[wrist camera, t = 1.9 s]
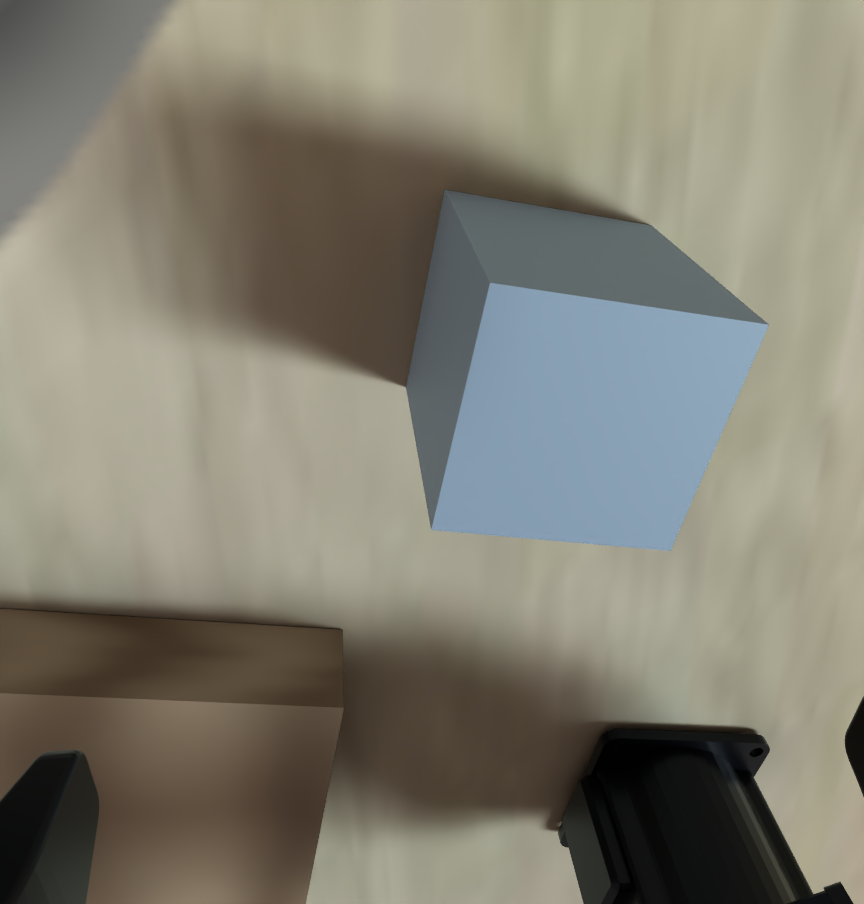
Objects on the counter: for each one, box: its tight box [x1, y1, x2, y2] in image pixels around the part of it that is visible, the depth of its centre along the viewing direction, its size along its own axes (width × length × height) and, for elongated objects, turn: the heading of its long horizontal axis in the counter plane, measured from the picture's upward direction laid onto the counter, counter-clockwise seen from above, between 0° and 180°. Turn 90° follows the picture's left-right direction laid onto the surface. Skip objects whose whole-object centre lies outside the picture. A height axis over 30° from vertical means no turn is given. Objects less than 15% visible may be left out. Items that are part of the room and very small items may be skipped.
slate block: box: [406, 190, 769, 551], centre depth 17 cm, size 5×5×6 cm
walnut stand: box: [0, 609, 344, 904], centre depth 25 cm, size 14×14×3 cm
